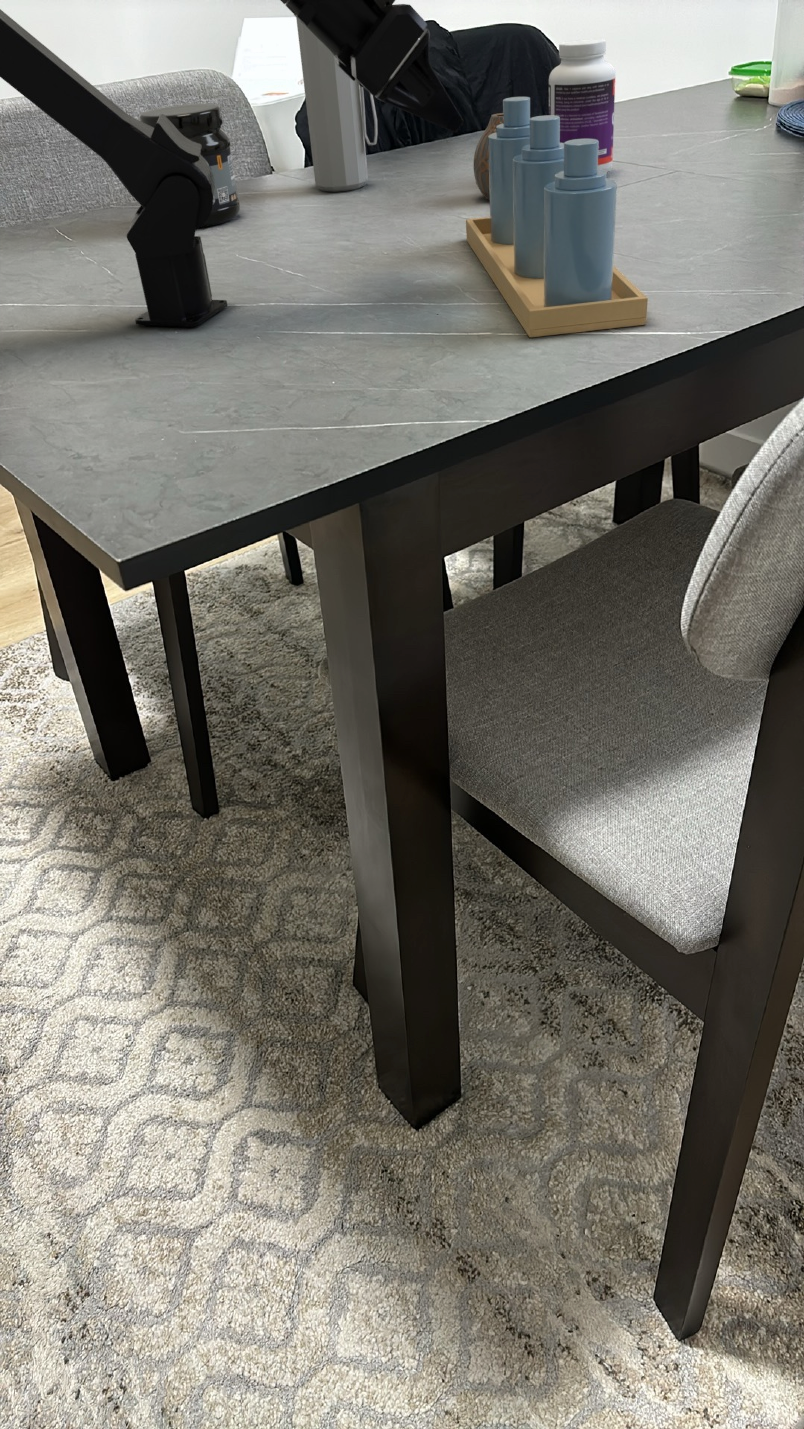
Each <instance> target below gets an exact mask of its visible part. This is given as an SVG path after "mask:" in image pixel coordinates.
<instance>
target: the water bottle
mask: <svg viewBox="0 0 804 1429" xmlns="http://www.w3.org/2000/svg"><path fill="white" fill-rule="evenodd" d="M295 19H296V27H297V28H296V29H297V35H298V36H297V37H298V44H299V54H300V62H301V72H302V80H303V88H304V96H305V104H306V105H305V106H306V114H307V124H308V132H309V139H310V140H309V141H310V150H311V157H312V165H313V166H312V167H313V175H314V184H315V186H316V187H317V188H318V189H319V190H321V191H324V192H330V193H337V192H338V193H339V192H349V191H354V190H358V189H360V188H363V187H364V186H365V185H366V183H367V182H368V179H369V174H368V164H367V154H366V153H367V151H366V150H367V149H366V144H367V145H368V146H375V145H377V141H378V117H377V111H376V106H375V100H374V96H373V95H372V94H370V93H369V99H370V105H371V109H372V116H373V123H374V137H373V142H370V139H369V137H368V134H367V124H366V109H365V108H366V107H365V94H364V93H365V92H364V88H363V87H361V86H360V85H359V84H357V80H356V79H355V81H353V80H352V79H351V78H350V77H349V76H348V75H347V74H346V73H345V72H344V71H343V70H342V69H341V68H340V67H339V66H338V65H337V64H336V62H335V56H334V55H333V54H332V52H331V51H330V50H329V49H328V48H327V47H326V46H325V45H324V44H323V43H322V42H321V41H320V40H319V39H318V38H317V37H316V36H315V35H314V34H313V33H312V32H311V31H310V30H309V29H308V28H307V27H306V26H305V25H303V24H302V23H301V22H300V21H299V20H298V19H297V18H296V17H295Z"/></svg>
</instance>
